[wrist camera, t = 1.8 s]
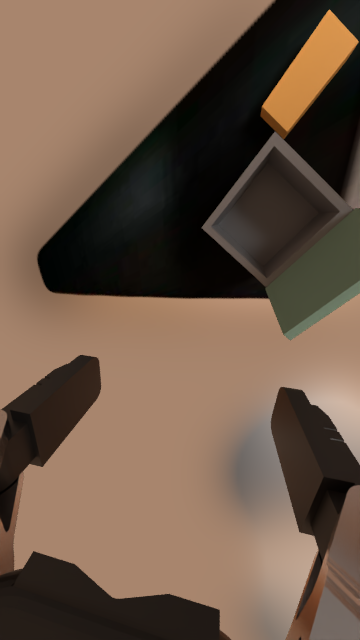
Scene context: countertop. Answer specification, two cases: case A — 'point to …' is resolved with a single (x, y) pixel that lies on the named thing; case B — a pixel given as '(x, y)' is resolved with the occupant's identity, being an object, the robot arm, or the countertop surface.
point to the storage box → (275, 212)
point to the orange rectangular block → (308, 74)
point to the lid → (319, 279)
